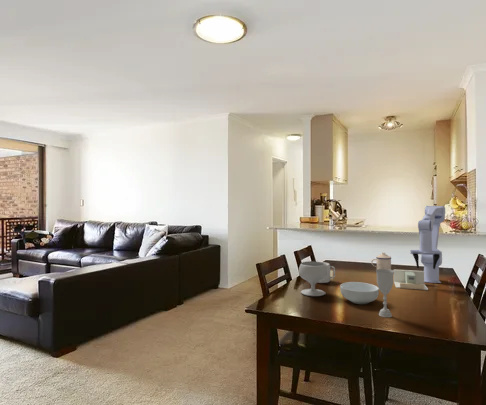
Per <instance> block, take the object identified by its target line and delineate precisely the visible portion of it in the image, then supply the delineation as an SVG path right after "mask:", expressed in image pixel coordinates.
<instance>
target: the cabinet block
mask: <svg viewBox="0 0 486 405" xmlns="http://www.w3.org/2000/svg"><path fill="white" fill-rule="evenodd" d="M405 283H410V284H416V276H415V274H414V273H413V272H405Z"/></svg>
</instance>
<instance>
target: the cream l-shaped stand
mask: <svg viewBox="0 0 486 405" xmlns="http://www.w3.org/2000/svg"><path fill="white" fill-rule="evenodd" d="M393 271H395V272H394V274H393V285H394V286H395V288H396V289H405V290H406V289H407V290H422V291H429V288H428V287H427V286H426V284H425V282H424V270H409V269H393ZM405 272H413V273H414V274H415V276H416V284H410V283H405Z"/></svg>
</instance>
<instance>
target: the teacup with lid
mask: <svg viewBox="0 0 486 405" xmlns="http://www.w3.org/2000/svg"><path fill="white" fill-rule="evenodd" d="M375 257H376V258H373V259H371V265H372V266H373V267H375V268H376V270H377V269H388V270H392V257H391V255H388V254H386V252H382V253H381V254H379V255H376V256H375ZM373 261H376V265H375V264H374V263H373Z"/></svg>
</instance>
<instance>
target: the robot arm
mask: <svg viewBox="0 0 486 405" xmlns="http://www.w3.org/2000/svg"><path fill="white" fill-rule="evenodd" d="M445 218H446V207H445V206H444V205H426V206H425V208H424V216H423V217H422V219H421V220H419V221H418V223H417V228H418V234H419V249H411V250H410V255H412V256H413V258H414V261H415V264H416V268H417V269H419V268H420V263H421V264H422V265H423V271H424V283H432V284H433V283H434V284H441V283H442V281H440V266H441V265H442V263H443V254H442V253H443V252H442V250H440V249H438V245H439V244H438V243H439V235H440V226H441V223H442V224H443V222H445ZM419 255H420V256H419ZM419 257H420V263H419Z"/></svg>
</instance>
